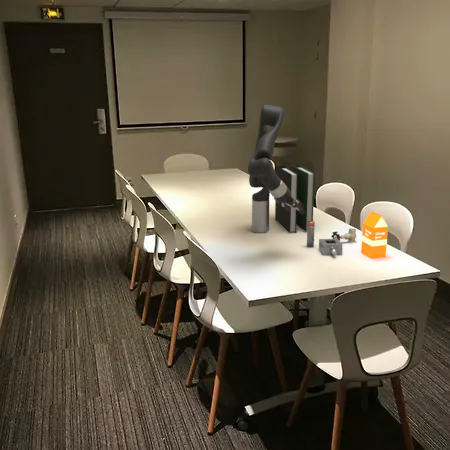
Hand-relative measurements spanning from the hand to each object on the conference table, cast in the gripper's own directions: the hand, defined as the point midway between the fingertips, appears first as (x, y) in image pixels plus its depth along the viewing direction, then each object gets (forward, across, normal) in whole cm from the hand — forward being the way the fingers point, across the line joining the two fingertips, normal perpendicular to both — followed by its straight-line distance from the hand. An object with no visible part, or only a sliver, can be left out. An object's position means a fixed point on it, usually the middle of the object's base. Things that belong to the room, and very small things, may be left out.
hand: (296, 211), depth 227 cm
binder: (+35, +30, -8) cm, 47 cm away
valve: (+34, -8, -6) cm, 35 cm away
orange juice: (+31, -27, -2) cm, 41 cm away
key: (+21, 0, +6) cm, 22 cm away
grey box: (+22, -13, +7) cm, 26 cm away
